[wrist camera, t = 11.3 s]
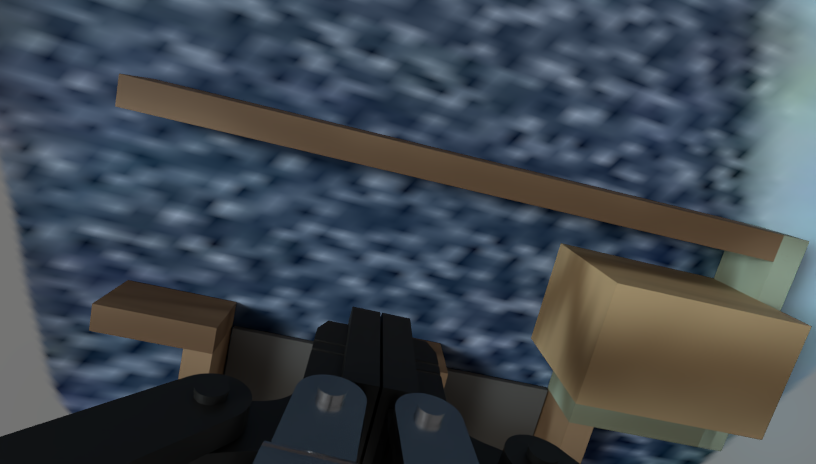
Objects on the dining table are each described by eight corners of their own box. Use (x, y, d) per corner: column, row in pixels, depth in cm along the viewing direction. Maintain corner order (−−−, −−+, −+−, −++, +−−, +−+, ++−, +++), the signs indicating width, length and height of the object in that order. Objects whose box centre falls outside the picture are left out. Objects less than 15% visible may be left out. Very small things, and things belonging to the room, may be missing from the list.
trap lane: (154, 79, 22) (118, 73, 19) (758, 226, 25) (809, 241, 22) (109, 423, 25) (73, 463, 22) (643, 516, 28) (673, 562, 25)
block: (560, 242, 24) (617, 283, 19) (711, 277, 25) (811, 326, 19) (530, 337, 25) (575, 403, 20) (676, 367, 26) (762, 439, 20)
